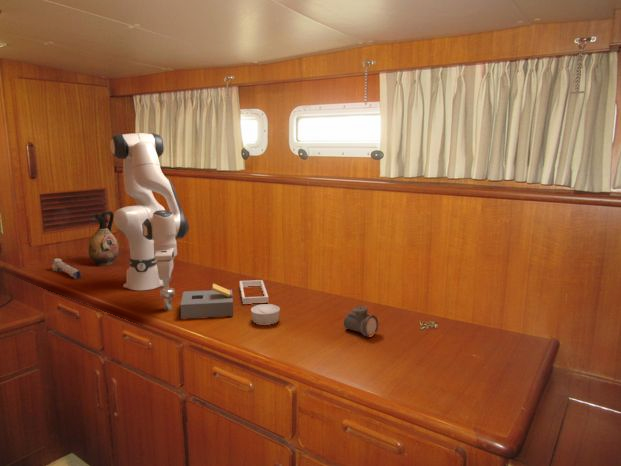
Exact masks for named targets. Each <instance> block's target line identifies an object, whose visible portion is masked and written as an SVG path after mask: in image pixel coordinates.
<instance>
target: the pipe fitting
mask: <svg viewBox="0 0 621 466" xmlns="http://www.w3.org/2000/svg"><path fill="white" fill-rule="evenodd" d="M343 327H344V329H346V328H347V329H350V330H349V331H351V330H353V331H352V332H356V331H357V333H361V334H362V335H363V336H364V337H365V336H367V337H366V338H369V335H371V334H373V333H374V332H377V333H378V329H379V320H378V317H377V316H376V315H373V314H368V307H367V306H365V305H362V306H360V305H359V306H356V307H354V308H353V310H351V311H349V312H348V314H346V315H345V316H344V319H343ZM347 329H346V330H347Z"/></svg>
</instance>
